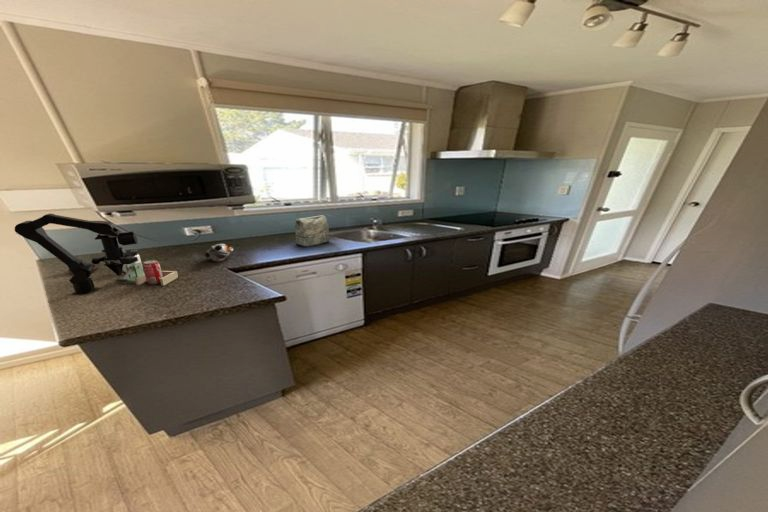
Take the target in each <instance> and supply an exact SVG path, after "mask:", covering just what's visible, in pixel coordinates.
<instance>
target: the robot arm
mask: <svg viewBox="0 0 768 512" xmlns="http://www.w3.org/2000/svg"><path fill="white" fill-rule="evenodd" d="M50 224H51V225H58V226H64V227H71V228H76V229H84V230H88V231H90V232H93V233H95V234H97V235H96V237H95V238H94V240H95V241H96V240H100V241H101V244H102V249H101V252H102V253H104V254H105V255H98V256H95V257H92V258H91V262H90V261H89V260H87V259H86V258H84V259H83V260H82V259H79V258H77V257H76V256H74V255H73V254H72V253H71V252H69V251H68V250H67V249H66V248H64V247H63V246H62V245H60V244H59V243H58V242H57V241H56V240H54V239H52V237H50V236H49V235H48V233H47V231H46V230H45V229H44V227H45V226H48V225H50ZM14 232H15V233H16V234H17V235H19V236H21V237H23V238H25V239H26V240H29V241H33V242H34V243H37V244H38V245H39V246H40V247H42V248H43V249H45V250H46V251H47V252H48V253H50V254H51V255H53V257H55V258H57V259H58V260H59V261H61V262H62V263H63V264H65V265H66V266H67V268H68V270H69V269H70V271H71V272H72V273H73V274H72V276H71V277H70V279H69V280H68V281H69V283H71V284H72V286H73V287H72V288H73V290H74V292H72V295H86V294H90V293H91V292H93V291H95V290H98V287H95V285H94V284H95V283H94V281H93V279H92V278H91V275H93V273H94V272H95V270H94V267H93V266H92V265H94V264H96V265H99V264H100V263H101V262H102V263H103V262H104V264H103V266H105V267H106V268H108V269H109V270H111V271H112V272H113V273H114V274H116V275H117V276H119V277H120V276H122V274H123V265H124V264H131V263H134V262H136V261H138V258H137V257H136V256H131V249H123V247H122V246H131V245H132V246H133V245H138V238H137V235H136V234H135V231H134V230H130V231H123V232H122V231H121V229H119V228H117V227H115V225H114V223H113V222H111V221H108V220H88V219H82V218H76V217H71V216H66V215H65V216H64V215H59V214H55V213H47V214H44V215H42V216H41V217H39V218H37V219H34V220H25V221H22V222H20V223H17V224H15V226H14ZM120 245H122V246H120ZM125 256H127V257H125ZM122 257H124V258H122ZM73 275H74V276H73Z"/></svg>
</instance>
